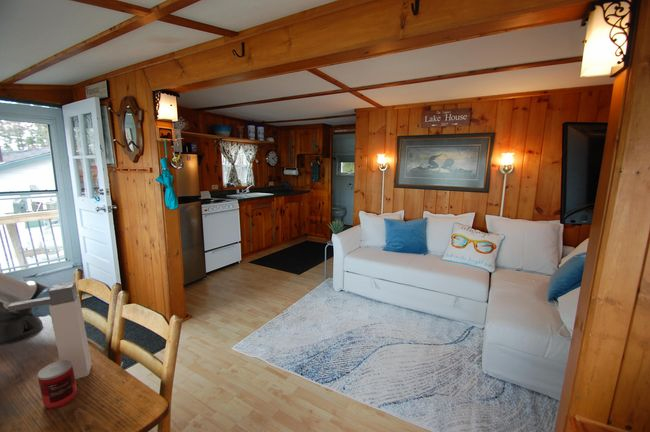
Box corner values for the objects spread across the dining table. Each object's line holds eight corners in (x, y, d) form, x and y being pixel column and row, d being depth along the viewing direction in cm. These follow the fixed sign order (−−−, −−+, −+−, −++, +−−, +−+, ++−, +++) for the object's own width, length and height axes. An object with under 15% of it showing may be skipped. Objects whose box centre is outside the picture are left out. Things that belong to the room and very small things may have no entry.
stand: (69, 371, 100) (54, 298, 94) (91, 364, 103) (78, 294, 97) (64, 382, 95) (48, 306, 89) (88, 375, 98) (74, 301, 92)
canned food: (60, 389, 92) (54, 359, 90) (84, 389, 92) (78, 360, 90) (36, 409, 85) (29, 377, 82) (62, 410, 84) (55, 378, 82)
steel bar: (13, 306, 89) (10, 292, 88) (77, 295, 97) (75, 281, 96) (6, 314, 85) (3, 298, 84) (74, 301, 93) (71, 287, 92)
